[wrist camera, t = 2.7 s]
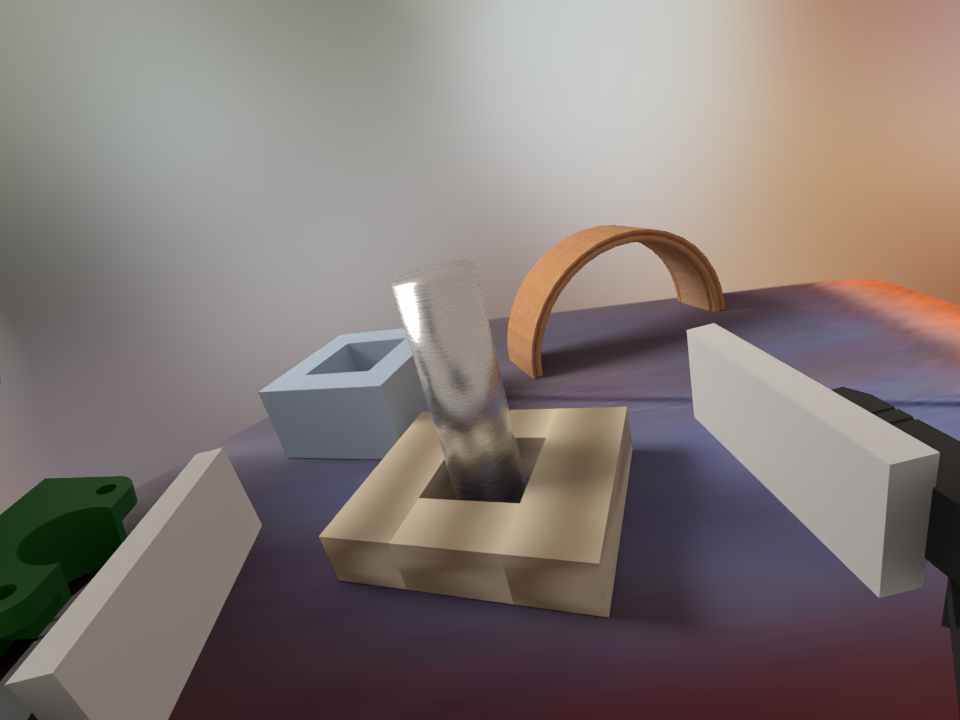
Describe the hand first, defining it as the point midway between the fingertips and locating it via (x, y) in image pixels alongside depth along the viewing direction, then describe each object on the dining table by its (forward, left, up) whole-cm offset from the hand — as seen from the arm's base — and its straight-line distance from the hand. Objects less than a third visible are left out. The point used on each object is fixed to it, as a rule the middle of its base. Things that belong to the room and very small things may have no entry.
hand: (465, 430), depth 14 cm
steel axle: (-5, +10, -12) cm, 16 cm away
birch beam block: (-5, +10, -12) cm, 16 cm away
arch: (-1, +35, -12) cm, 37 cm away
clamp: (-29, 0, -12) cm, 32 cm away
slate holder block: (-19, +20, -12) cm, 30 cm away
